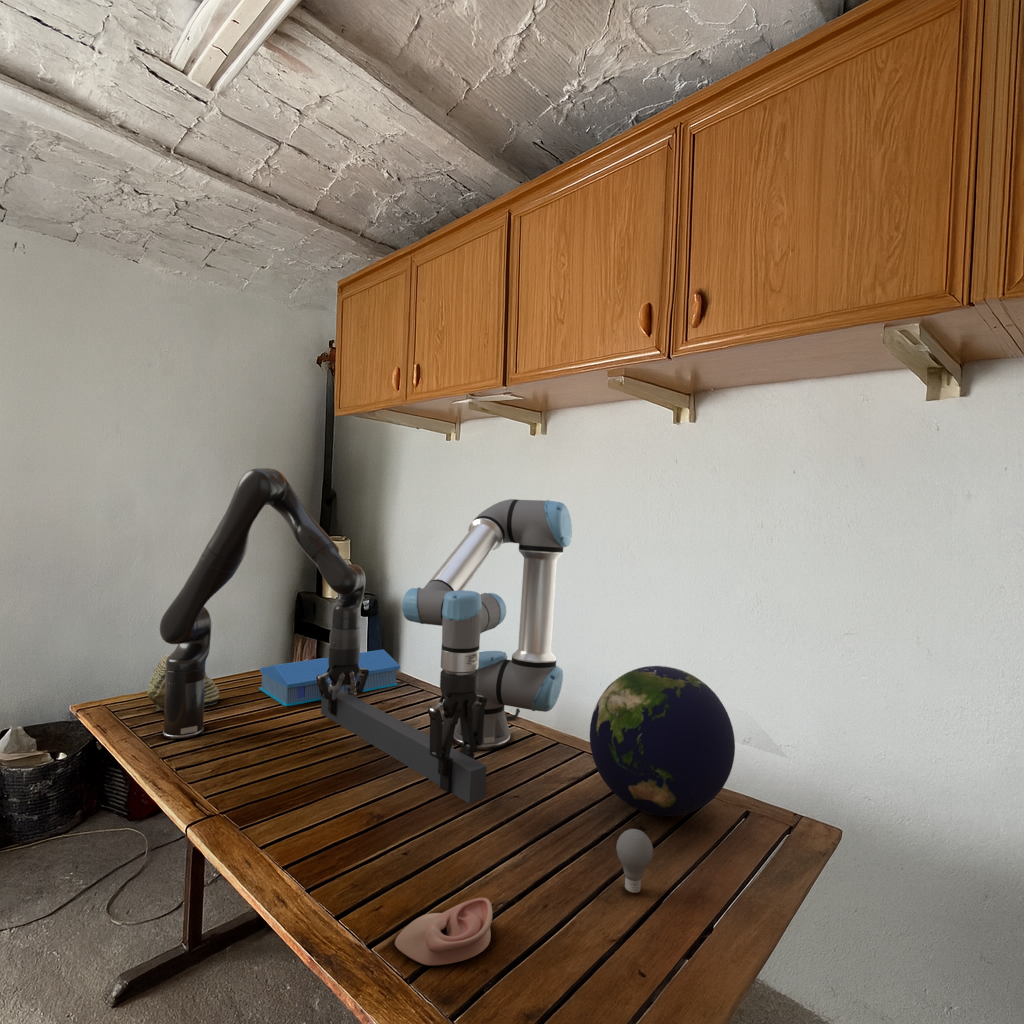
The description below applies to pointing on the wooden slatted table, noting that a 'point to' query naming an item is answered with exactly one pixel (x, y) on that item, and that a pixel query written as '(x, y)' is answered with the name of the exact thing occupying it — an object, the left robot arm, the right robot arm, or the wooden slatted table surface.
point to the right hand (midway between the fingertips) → (455, 786)
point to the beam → (407, 745)
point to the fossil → (158, 687)
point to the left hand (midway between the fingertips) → (341, 712)
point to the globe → (662, 740)
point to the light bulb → (634, 857)
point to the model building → (300, 677)
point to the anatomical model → (448, 934)
